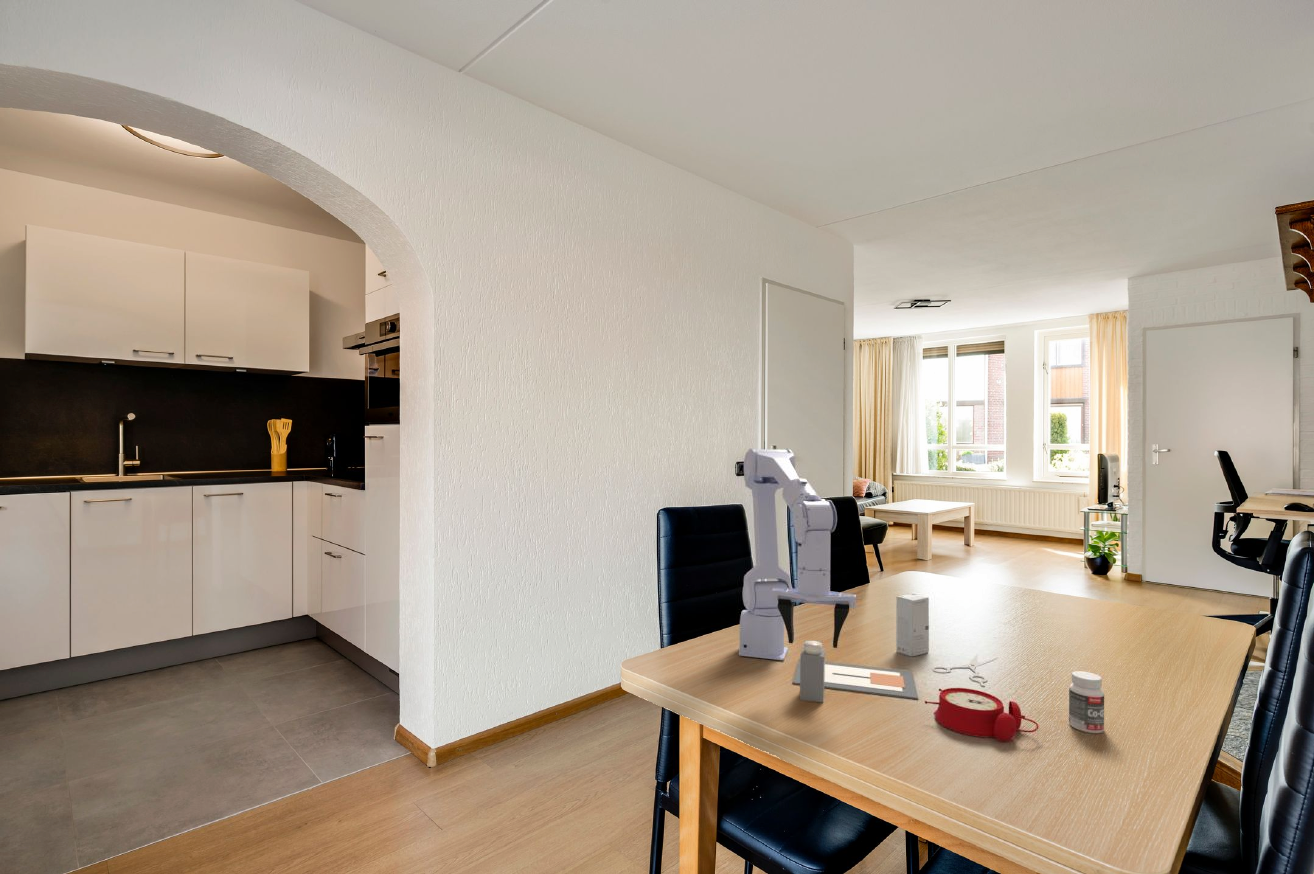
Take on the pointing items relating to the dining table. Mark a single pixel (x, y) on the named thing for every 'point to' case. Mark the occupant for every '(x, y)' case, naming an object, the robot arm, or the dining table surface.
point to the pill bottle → (1086, 702)
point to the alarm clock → (978, 714)
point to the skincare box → (912, 624)
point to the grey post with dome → (812, 672)
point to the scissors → (970, 666)
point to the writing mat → (867, 680)
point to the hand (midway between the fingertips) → (813, 643)
